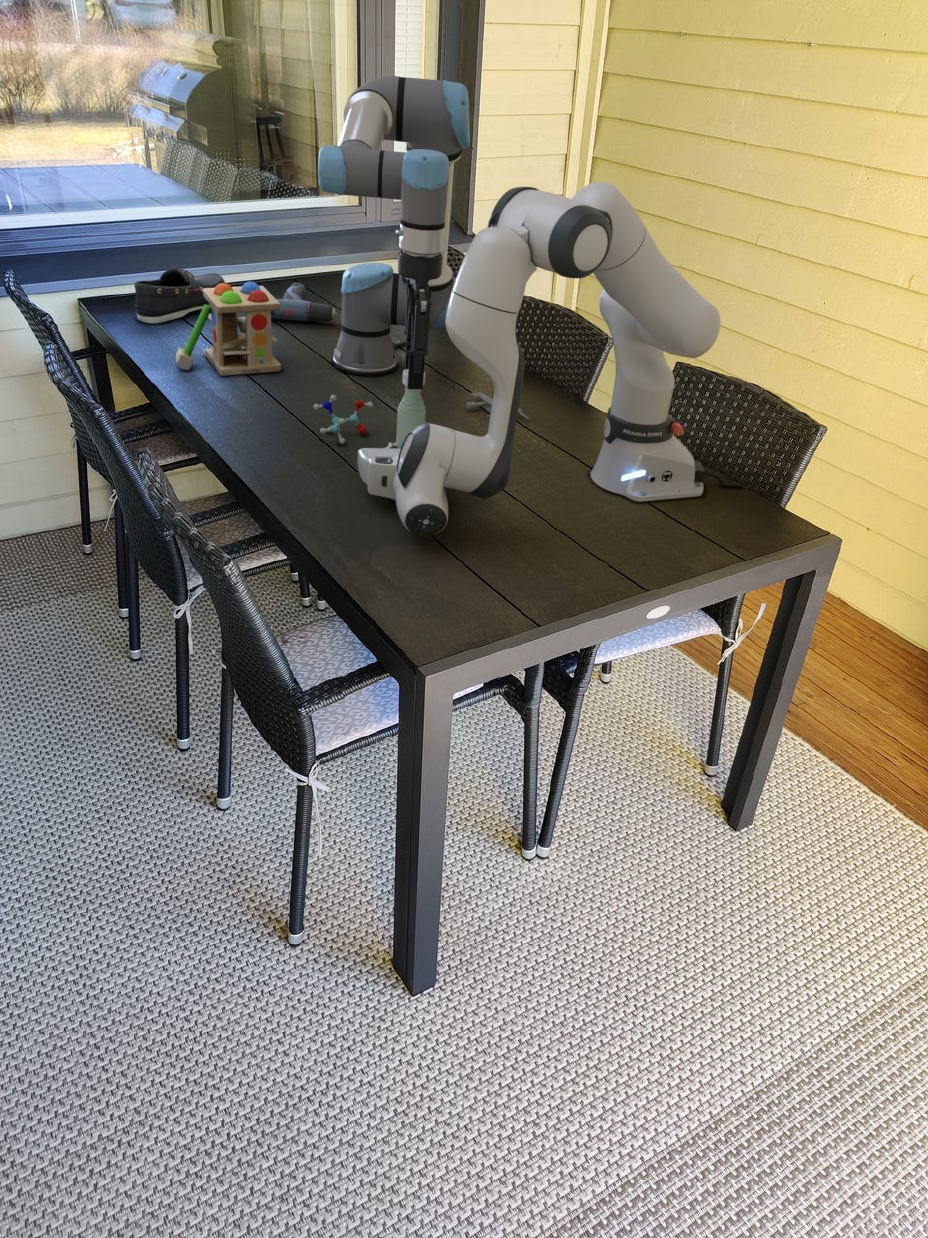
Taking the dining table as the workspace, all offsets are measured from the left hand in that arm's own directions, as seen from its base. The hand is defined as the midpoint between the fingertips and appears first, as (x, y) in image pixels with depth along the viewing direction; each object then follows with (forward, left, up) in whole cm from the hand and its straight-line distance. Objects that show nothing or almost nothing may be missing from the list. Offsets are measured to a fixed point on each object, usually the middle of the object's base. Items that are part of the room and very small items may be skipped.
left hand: (413, 383), depth 179 cm
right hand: (0, -1, -13) cm, 13 cm away
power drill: (-41, -92, -19) cm, 102 cm away
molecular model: (-1, -23, -19) cm, 30 cm away
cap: (0, 0, +2) cm, 2 cm away
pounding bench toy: (-2, -69, -19) cm, 71 cm away
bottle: (0, 0, -19) cm, 19 cm away
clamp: (-37, -14, -19) cm, 43 cm away
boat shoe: (-15, -111, -19) cm, 113 cm away
